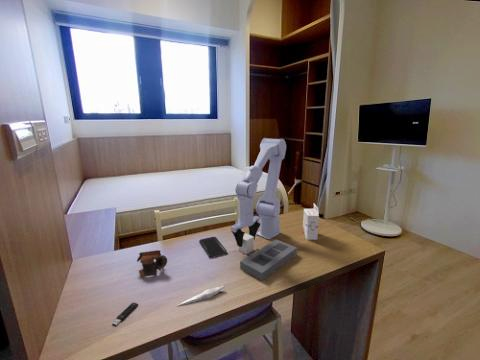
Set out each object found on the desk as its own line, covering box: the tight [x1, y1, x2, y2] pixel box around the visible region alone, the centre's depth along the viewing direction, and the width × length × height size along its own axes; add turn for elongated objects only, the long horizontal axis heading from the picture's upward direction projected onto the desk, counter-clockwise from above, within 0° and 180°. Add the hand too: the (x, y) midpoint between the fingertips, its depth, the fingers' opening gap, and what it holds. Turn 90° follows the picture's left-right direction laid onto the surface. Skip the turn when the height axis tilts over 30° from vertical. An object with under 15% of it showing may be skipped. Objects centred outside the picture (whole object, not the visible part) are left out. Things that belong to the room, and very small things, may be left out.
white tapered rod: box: [177, 285, 225, 307], centre depth 74 cm, size 15×3×2 cm, turn 117°
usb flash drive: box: [111, 302, 139, 327], centre depth 68 cm, size 8×2×1 cm, turn 161°
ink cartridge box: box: [302, 202, 320, 241], centre depth 110 cm, size 9×5×15 cm, turn 179°
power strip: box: [239, 239, 298, 281], centre depth 92 cm, size 22×10×3 cm, turn 136°
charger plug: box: [238, 233, 255, 255], centre depth 99 cm, size 4×4×6 cm
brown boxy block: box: [136, 249, 168, 277], centre depth 88 cm, size 12×10×8 cm
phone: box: [198, 236, 228, 259], centre depth 102 cm, size 8×1×15 cm
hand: (246, 242), depth 99 cm, fingers open, 7 cm apart
